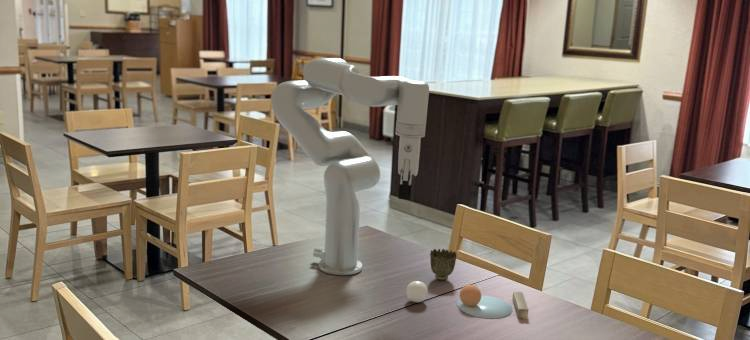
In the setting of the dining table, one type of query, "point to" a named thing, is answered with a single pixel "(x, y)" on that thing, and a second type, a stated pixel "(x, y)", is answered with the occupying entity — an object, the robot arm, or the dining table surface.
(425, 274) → the dining table surface
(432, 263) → the cup
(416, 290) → the ivory ball
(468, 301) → the terracotta ball
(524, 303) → the tan bar
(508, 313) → the light blue plate
